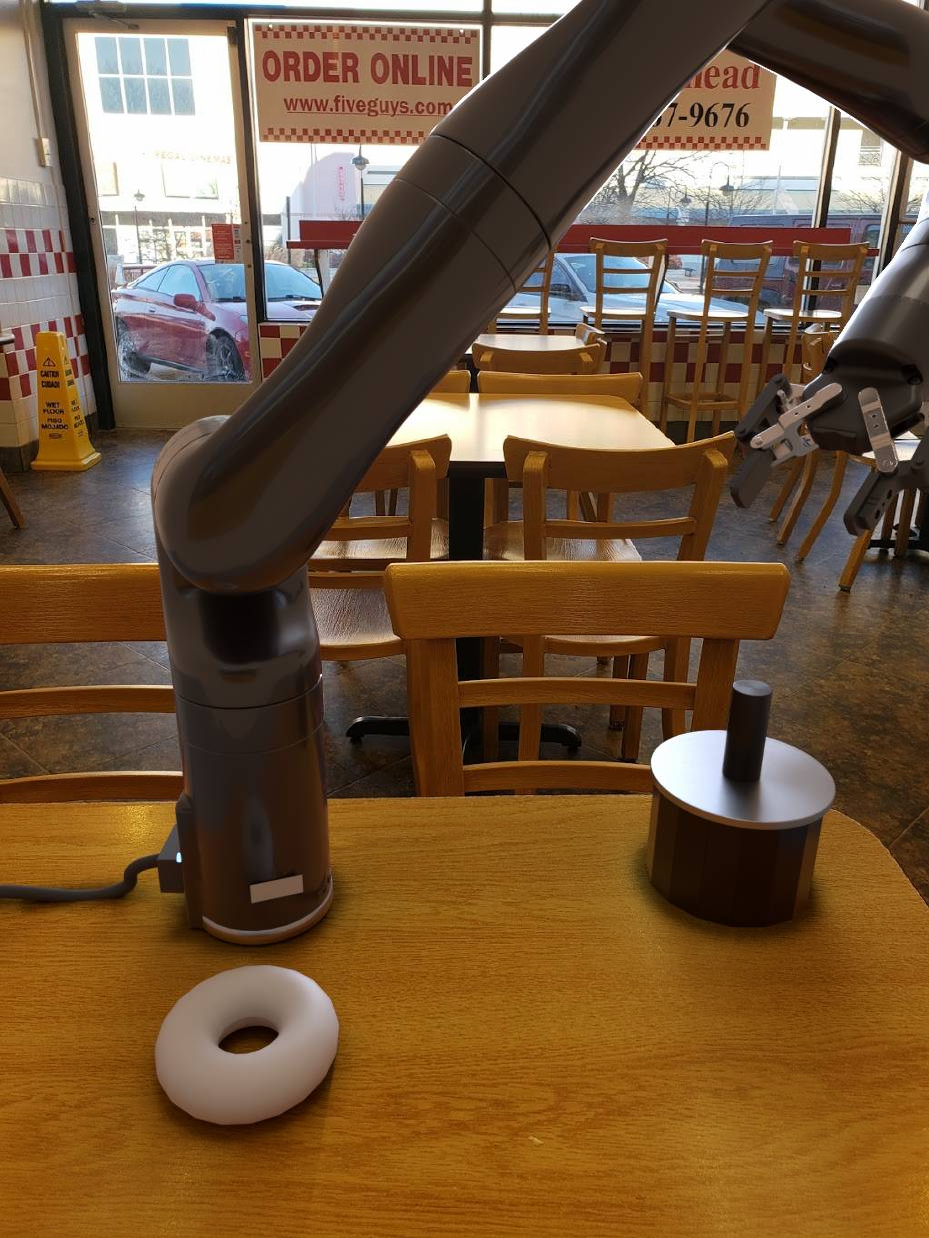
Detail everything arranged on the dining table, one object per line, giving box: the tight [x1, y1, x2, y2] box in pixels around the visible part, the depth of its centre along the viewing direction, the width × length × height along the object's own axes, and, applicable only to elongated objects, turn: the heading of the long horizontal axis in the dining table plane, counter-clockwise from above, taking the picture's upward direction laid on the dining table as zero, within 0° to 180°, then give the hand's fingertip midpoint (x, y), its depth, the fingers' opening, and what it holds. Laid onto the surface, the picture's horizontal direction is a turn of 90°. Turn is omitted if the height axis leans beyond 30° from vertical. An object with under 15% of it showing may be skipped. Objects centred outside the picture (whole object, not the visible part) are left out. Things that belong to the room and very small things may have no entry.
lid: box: [649, 679, 837, 830], centre depth 64 cm, size 12×12×8 cm
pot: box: [645, 783, 824, 929], centre depth 67 cm, size 11×11×8 cm
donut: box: [154, 964, 340, 1126], centre depth 52 cm, size 10×4×10 cm
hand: (792, 514), depth 63 cm, fingers open, 8 cm apart
